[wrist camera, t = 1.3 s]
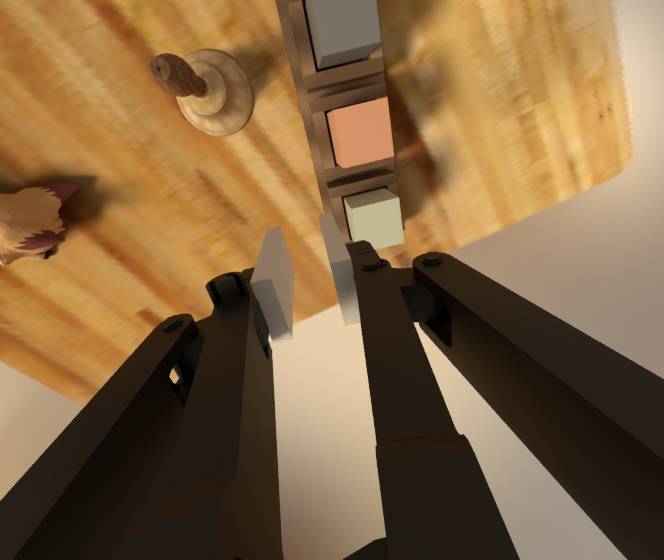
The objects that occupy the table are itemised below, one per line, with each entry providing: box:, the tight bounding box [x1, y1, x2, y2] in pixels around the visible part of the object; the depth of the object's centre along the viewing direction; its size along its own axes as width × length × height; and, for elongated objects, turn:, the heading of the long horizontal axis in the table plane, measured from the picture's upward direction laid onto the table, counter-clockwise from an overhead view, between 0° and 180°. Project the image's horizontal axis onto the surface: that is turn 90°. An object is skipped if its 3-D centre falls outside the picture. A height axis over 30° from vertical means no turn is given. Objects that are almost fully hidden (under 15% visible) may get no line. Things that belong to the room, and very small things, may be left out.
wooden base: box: [275, 0, 403, 244], centre depth 35 cm, size 28×10×5 cm, turn 12°
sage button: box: [344, 188, 404, 250], centre depth 35 cm, size 5×5×6 cm
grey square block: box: [305, 0, 381, 69], centre depth 27 cm, size 5×5×6 cm
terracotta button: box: [327, 97, 394, 169], centre depth 31 cm, size 5×5×6 cm
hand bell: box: [149, 50, 253, 137], centre depth 27 cm, size 8×8×16 cm
